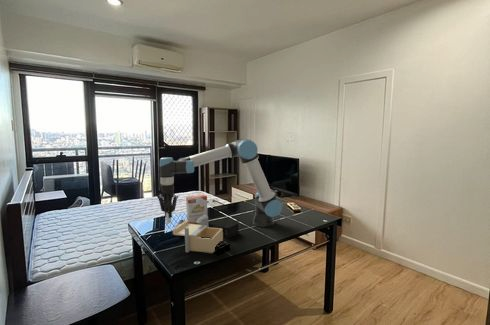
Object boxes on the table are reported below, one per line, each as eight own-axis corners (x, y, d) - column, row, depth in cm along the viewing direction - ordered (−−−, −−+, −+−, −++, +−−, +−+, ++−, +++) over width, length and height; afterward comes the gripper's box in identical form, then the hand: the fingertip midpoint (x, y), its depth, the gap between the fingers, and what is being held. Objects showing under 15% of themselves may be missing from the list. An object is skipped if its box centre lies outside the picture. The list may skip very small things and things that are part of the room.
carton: (228, 234, 164) (227, 214, 163) (211, 255, 137) (210, 231, 136) (206, 232, 168) (205, 212, 167) (185, 252, 141) (184, 228, 140)
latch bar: (206, 216, 165) (206, 214, 164) (198, 223, 153) (198, 220, 153) (204, 216, 165) (204, 214, 165) (196, 222, 154) (196, 220, 153)
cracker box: (188, 227, 178) (187, 198, 176) (186, 224, 184) (185, 196, 181) (208, 224, 185) (207, 195, 182) (205, 221, 190) (204, 194, 188)
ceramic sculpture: (171, 222, 163) (176, 216, 178) (171, 236, 163) (176, 228, 178) (188, 222, 163) (192, 216, 178) (188, 235, 164) (192, 228, 179)
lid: (207, 226, 156) (207, 222, 156) (195, 237, 141) (195, 231, 141) (186, 224, 160) (186, 220, 160) (172, 234, 145) (172, 229, 144)
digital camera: (232, 231, 170) (232, 221, 169) (238, 233, 166) (238, 223, 166) (221, 236, 162) (221, 226, 161) (228, 239, 158) (227, 228, 157)
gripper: (153, 184, 147) (155, 224, 150) (173, 185, 144) (175, 226, 146) (161, 182, 154) (162, 219, 157) (180, 183, 151) (181, 221, 153)
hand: (168, 222), depth 152 cm, fingers closed
